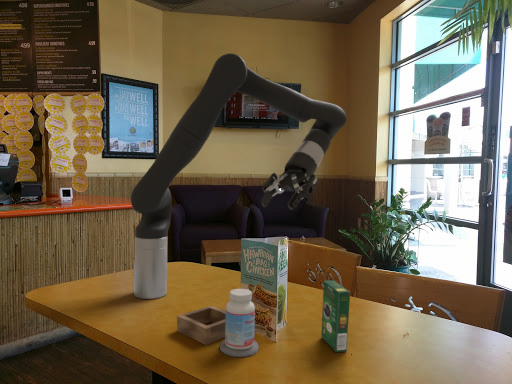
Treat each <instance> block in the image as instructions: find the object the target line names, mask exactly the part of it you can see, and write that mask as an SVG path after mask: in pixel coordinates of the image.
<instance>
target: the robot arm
mask: <svg viewBox="0 0 512 384" xmlns="http://www.w3.org/2000/svg"><path fill="white" fill-rule="evenodd" d="M235 93H239V94H243V95H246V96H248V97H251V98H253V99H255V100H258V101H260V102H262V103H264V104H266V105H267V106H269V107H270V108H273V109H275V110H276V111H278V112H280V113H282V114H284V115H285V116H287V117H290V118H291V119H294V120H296V121H298V122H300V123H307V122H308V121H309V120H315V122H314V123H313V124H312V126H311V128H310V130H309V132H308V133H307V135H305V137H304V138H303V140H302V142H301V143H300V144H299V145H298V146H297V148H296V149H295V150H294V152H293V153H292V155H291V156H290V157H289V159H288V161H287V162H286V163H285V166H284V171H283V173H281V174H280V175H277V173H276V172H273V173H271V175H270V176H269V178H268V179H267V180H266V181H265V183H264V184H263V185H262V186H261V189H262V191H263V192H264V194H263V196H262V197H261V199H260V204H261V206H262V207H263V208H267V207H268V206H269V204H270V203H271V201H272V199H273V197H274V196H276V195H277V194H279V195H281V194H282V193H284V192H293V194H292V195H291V197H290V198H289V200H288V202H286V203H287V204H286V205H287V207H288V209H289V210H290V211H294V209H296V208H297V206H298V205H299V203H300V201H301V200H303V199H304V198H306V199H310V198H311V197H312V195H313V193H314V191H315V189H316V187H317V185H318V183H319V179H318V178H317V177H316V175H315V173H316V171H317V169H319V166H320V165H321V162H322V161H323V158H324V156H325V155H326V153H327V151H328V150H329V148H330V145H331V141H332V139H333V138H334V137H335V136H336V135H337V133H338V132H340V130H342V128H343V127H345V124H347V120H348V118H347V117H348V116H347V114H346V112H345V111H344V109H343V108H342V107H340V106H338V105H337V104H334V103H330V102H327V101H323V100H319V99H318V100H317V99H312V98H310V97H308V96H306V95H304V94H303V93H300V92H298V91H296V90H294V89H292V88H289V87H287V86H285V85H283V84H282V85H281V84H279V83H276V82H273V81H271V80H268V79H266V78H265V77H262V76H261V75H259V74H257V73H256V72H254V70H252V69H250V68H249V67H247V65H246V61H245V60H244V59H243V58H242V57H241V56H240V55H239V54H236V53H232V52H231V53H225V54H222V55H221V56H219V57H218V58H217V59H216V60H215V62H214V64H213V67H212V69H211V71H210V73H209V75H208V77H207V79H206V81H205V83H204V84H203V87H202V89H201V90H200V91H199V93H198V95H197V96H196V98H195V99H194V100H193V101H192V102H191V104H190V105H189V107H188V108H187V109H186V111H185V112H184V113H183V115H182V116H181V118H180V119H179V120H178V123H176V125H175V127H174V128H173V130H172V132H171V133H170V135H169V137H168V139H167V140H166V142H165V144H164V145H163V147H162V148H161V150H160V151H159V154H158V155H156V156H157V157H156V159H155V160H154V161H153V163H152V165H151V166H150V167H149V168H148V170H147V171H146V172H145V174H143V176H142V177H141V179H140V180H139V181H138V182H137V184H136V185H135V186H134V188H133V189H132V191H131V194H130V202H131V203H130V204H131V207H132V208H133V210H134V211H135V212H136V213H138V214H141V218H140V220H139V223H137V225H136V227H135V230H134V260H133V272H132V273H133V281H132V283H133V284H132V293H133V295H134V297H136V298H138V299H143V300H145V299H147V300H150V299H151V300H152V299H153V300H154V299H157V298H163V297H165V296H166V295H167V287H168V285H167V284H168V283H167V282H168V281H167V280H168V242H169V241H168V238H169V236H168V233H169V232H168V231H169V229H170V226H171V218H172V193H171V190H170V189H169V186H170V185H171V184H172V182H173V181H174V179H175V178H176V177H177V175H178V174H179V173H180V172H182V171H183V170H184V168H186V167H187V166H188V165H189V164H190V163H191V162H192V161H193V160H194V159H195V158H196V157H197V155H198V154H199V152H200V151H201V150H202V149H203V147H204V145H205V143H206V142H207V140H208V139H209V137H210V135H211V133H212V131H213V129H214V127H215V125H216V123H217V120H218V118H219V116H220V114H221V112H222V110H223V109H224V107H225V105H226V104H227V103H228V101H229V100H230V99H231V98H232V97H233V95H234V94H235ZM279 186H280V188H279ZM274 189H275V190H274Z"/></svg>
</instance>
